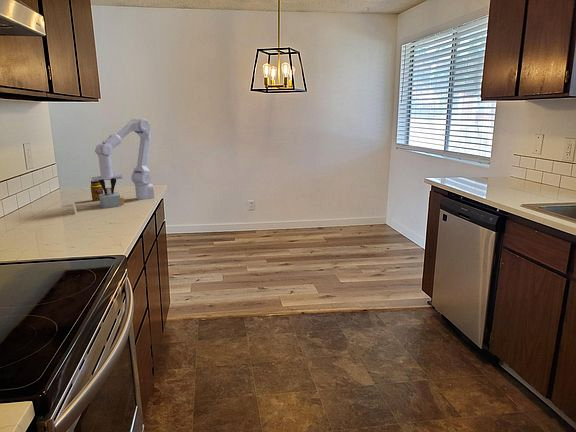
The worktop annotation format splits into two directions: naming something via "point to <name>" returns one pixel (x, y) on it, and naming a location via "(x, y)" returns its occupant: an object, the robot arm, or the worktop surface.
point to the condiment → (96, 190)
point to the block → (122, 200)
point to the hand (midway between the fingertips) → (109, 193)
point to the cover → (109, 199)
